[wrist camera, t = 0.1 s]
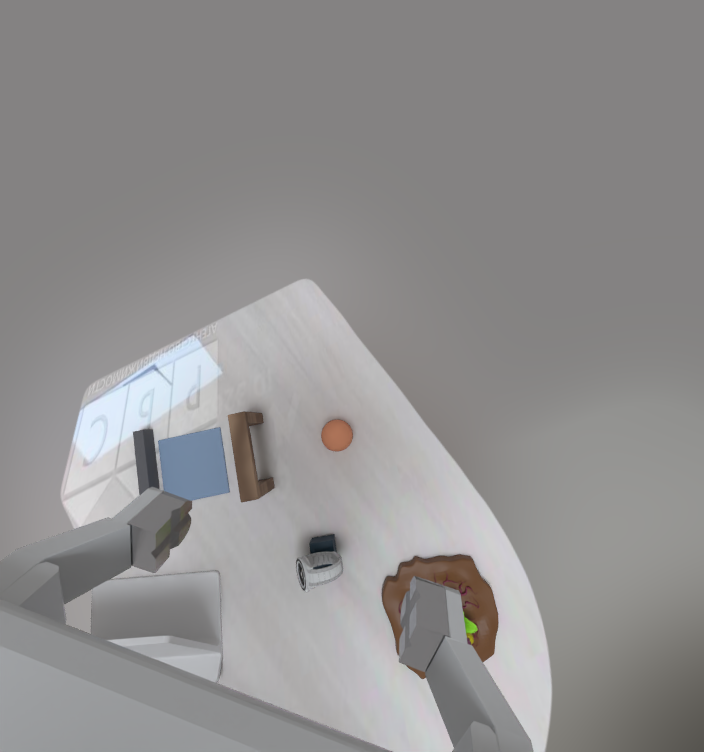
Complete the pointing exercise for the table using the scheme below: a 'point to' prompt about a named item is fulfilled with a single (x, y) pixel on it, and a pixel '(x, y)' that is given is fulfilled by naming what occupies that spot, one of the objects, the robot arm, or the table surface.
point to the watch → (319, 563)
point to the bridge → (247, 456)
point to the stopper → (145, 460)
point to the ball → (337, 435)
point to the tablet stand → (164, 619)
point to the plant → (455, 575)
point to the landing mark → (194, 465)
